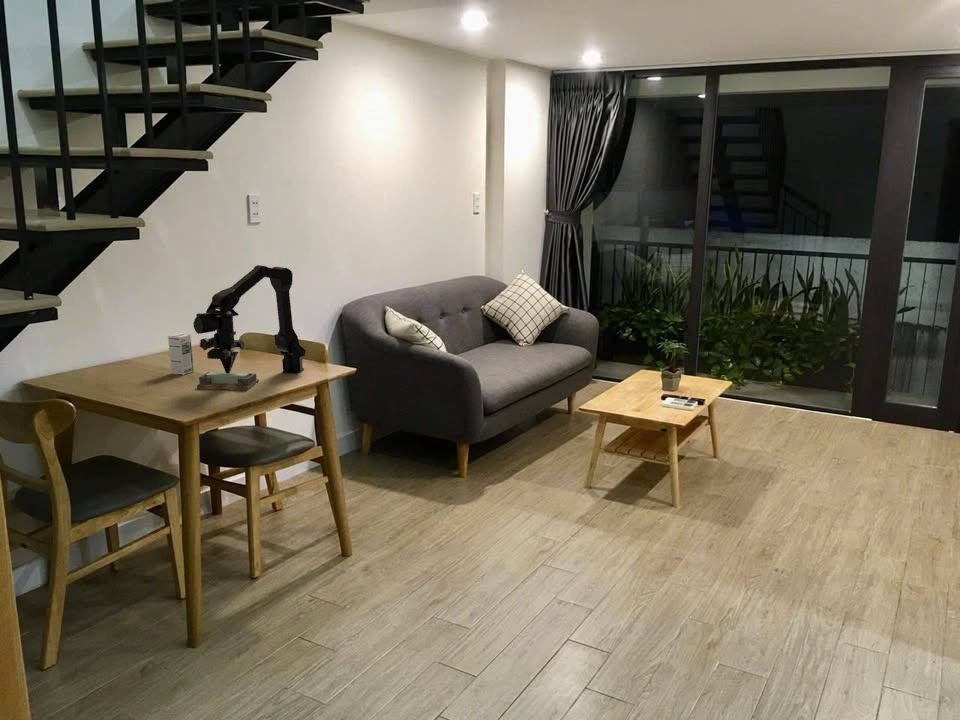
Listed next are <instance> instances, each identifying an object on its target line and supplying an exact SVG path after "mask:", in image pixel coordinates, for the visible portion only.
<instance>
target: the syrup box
mask: <svg viewBox="0 0 960 720" xmlns="http://www.w3.org/2000/svg"><path fill="white" fill-rule="evenodd" d="M191 337H192V336H191V333H184V332H183V333H181V332H180V333H176V334H172V335H168V336H167V340H168V353H169V361H170V372H171V374H173V375H178V374H182V376H184V374H185V375H187V374H191V373H193V372H194V361H193V360H194V359H193V349H192V338H191Z"/></svg>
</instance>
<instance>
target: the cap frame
mask: <svg viewBox="0 0 960 720" xmlns="http://www.w3.org/2000/svg"><path fill="white" fill-rule="evenodd" d="M210 372H211V371H207V372H206V373H204V374H202V375H200V376H199V379H198V380H199V384H197V385H196V389H197V388H198V389H197V390H199V389H200V390H219V389H230V390H229V391H246V390H248V389H249V388H250V389H251V387H252V386H253V387H255V386H256V385H257V384H259V383H260V380H259V378H257V373H255V372H254V373H253V372H252V373H249V372H248V373H249V377H248V378H238V384H228V383H211V377H206V374H208V373H210ZM258 382H259V383H258ZM256 383H257V384H256ZM255 384H256V385H255ZM254 385H255V386H254ZM253 387H252V388H253ZM250 389H249V390H250ZM249 390H248V391H249Z"/></svg>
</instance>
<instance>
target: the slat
mask: <svg viewBox="0 0 960 720" xmlns="http://www.w3.org/2000/svg"><path fill="white" fill-rule="evenodd" d="M209 372H210V373H208V374H206V377H211V383H228V384H238V378H248V377H249V372H247V373H246V372H230V373H226V372H222V371H221V372H219V371H209Z"/></svg>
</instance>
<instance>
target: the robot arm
mask: <svg viewBox="0 0 960 720" xmlns="http://www.w3.org/2000/svg"><path fill="white" fill-rule="evenodd" d="M265 278H267V279H268V278H269V281H270V286H272V289H273V290H274V292H275V300H276V309H277V315H278V316H277V318H278V327H279V330H278V332H277V334H274V336H273V337H274V345H275V346H276V349H278V351H279V352H280V355H283V358H282V359H281V361H282V363H281V364H282V373H289V374H291V373H293V374H299V373H301V372H302V371H304V370H305V368H304V367H303V357H305V356H306V349H305V348H304V347H303V346H301V344H300V341H299V337H298V335H297V333H296V331H295V330H294V327H293V325H294V324H293V316H292V315H293V314H292V307H291V306H292V305H291V294H290V290H291V288H292V285H293V271H292V270H291V269H289V268H287V267H283V266H273V267H269V266H266V265H260V264H257V265H255V266H253V269H251V270H250V271H249V272H248V273H246V274H245V275H244V276H243V277H241V278H240V279H239V280H237V282H235V283H234V284H233V285H231V286H230V287H228V288H225V289H222V290H219V292H216V293H215V294H213V296H212V297H211V302H210V303H209V305H208V307H207V309H206V311H205V312H204V313H201V312H199V313H196V317H195V318H194V320H193V329H194V332H195V333H196V334H198V335H200V334H207V333H213V332H214V334H213V337H209V338H207V337H203V338H201V339H200V342H199V347H200V348H201V349H203V351H206V350H208V349H210V350H209V351H207V353H206V357H207V359H209V360H219V361H220V362H221V364H222V366H223V370H224V371H225V372H224V373H231V371H232V368H233V366H234V363H235V360H236V358H237V357H238V354H239V351H235V348H238V349H240V350H243V349H245V342H244V341H243V339H235V335H237V331H235V330H234V329H235V328H234V317H236V316H239V312H237V311H236V310H235V307H236V306H237V305H238V304H239V301H240V299H241V297H243V295H244V294H246V293H247V292H249V291H250V290H251V289H253V287H254V286H256V285H257V284H258V283H259V282H261V281H262V280H263V279H265Z"/></svg>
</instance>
